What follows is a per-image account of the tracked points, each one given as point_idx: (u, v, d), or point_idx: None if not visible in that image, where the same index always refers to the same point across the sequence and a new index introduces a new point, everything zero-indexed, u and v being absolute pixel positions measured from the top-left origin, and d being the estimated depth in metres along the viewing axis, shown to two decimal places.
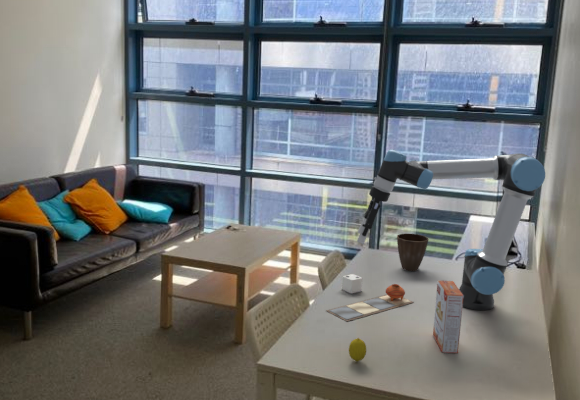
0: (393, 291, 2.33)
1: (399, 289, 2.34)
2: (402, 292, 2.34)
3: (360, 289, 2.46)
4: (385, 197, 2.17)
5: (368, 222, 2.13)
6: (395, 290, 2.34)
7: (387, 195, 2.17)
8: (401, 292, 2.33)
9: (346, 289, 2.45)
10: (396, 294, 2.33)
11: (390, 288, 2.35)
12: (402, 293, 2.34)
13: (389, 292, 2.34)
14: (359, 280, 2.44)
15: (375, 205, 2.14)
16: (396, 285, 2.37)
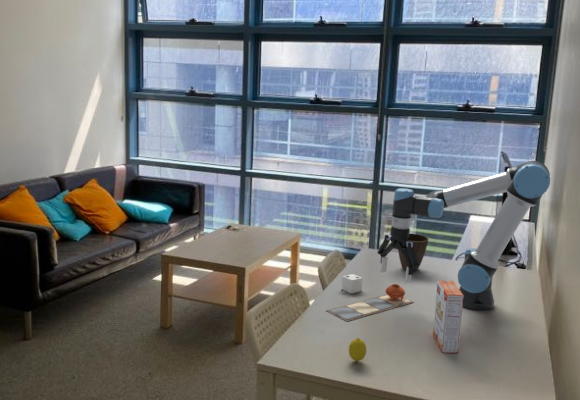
0: (393, 291, 2.33)
1: (399, 289, 2.34)
2: (402, 292, 2.34)
3: (360, 289, 2.46)
4: (409, 232, 2.30)
5: (414, 262, 2.26)
6: (395, 290, 2.34)
7: (409, 230, 2.31)
8: (401, 292, 2.33)
9: (346, 289, 2.45)
10: (396, 294, 2.33)
11: (390, 288, 2.35)
12: (402, 293, 2.34)
13: (389, 292, 2.34)
14: (359, 280, 2.44)
15: (411, 244, 2.27)
16: (396, 285, 2.37)
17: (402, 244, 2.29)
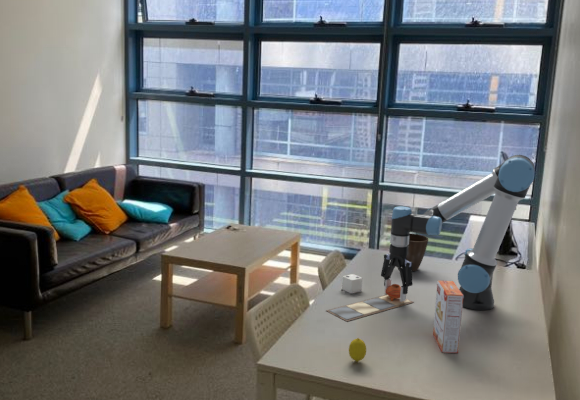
0: (393, 291, 2.34)
1: (399, 289, 2.34)
2: None
3: (360, 289, 2.46)
4: None
5: (409, 282, 2.29)
6: (395, 290, 2.34)
7: None
8: None
9: (346, 289, 2.45)
10: (396, 294, 2.33)
11: (390, 288, 2.35)
12: None
13: (389, 292, 2.34)
14: (359, 280, 2.44)
15: (409, 265, 2.28)
16: (396, 285, 2.37)
17: (401, 262, 2.31)
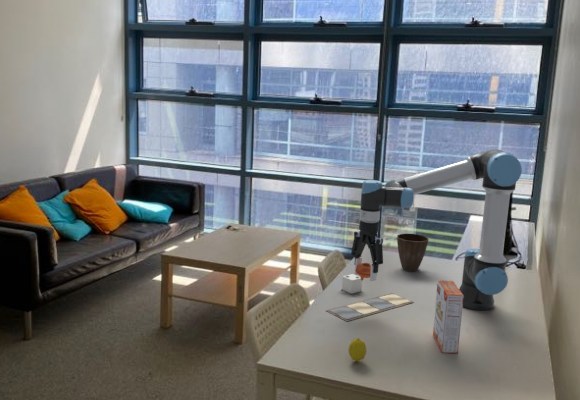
0: (363, 270, 2.21)
1: (369, 268, 2.21)
2: None
3: (360, 289, 2.46)
4: (378, 226, 2.19)
5: (379, 260, 2.16)
6: (365, 269, 2.21)
7: (378, 224, 2.19)
8: None
9: (346, 289, 2.45)
10: (366, 273, 2.20)
11: (360, 267, 2.22)
12: None
13: (359, 271, 2.21)
14: (359, 280, 2.44)
15: (380, 241, 2.15)
16: (367, 264, 2.24)
17: (371, 239, 2.18)
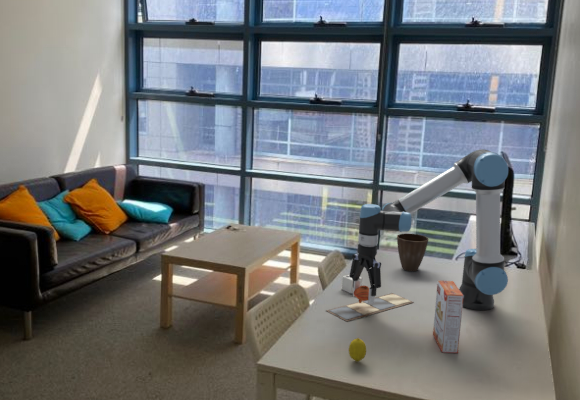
0: (361, 293, 2.22)
1: (367, 291, 2.23)
2: None
3: None
4: (376, 250, 2.21)
5: (377, 283, 2.18)
6: (363, 292, 2.22)
7: None
8: None
9: (346, 289, 2.45)
10: (364, 296, 2.22)
11: (358, 290, 2.24)
12: None
13: (357, 294, 2.23)
14: None
15: (378, 265, 2.17)
16: (365, 287, 2.26)
17: (369, 262, 2.20)
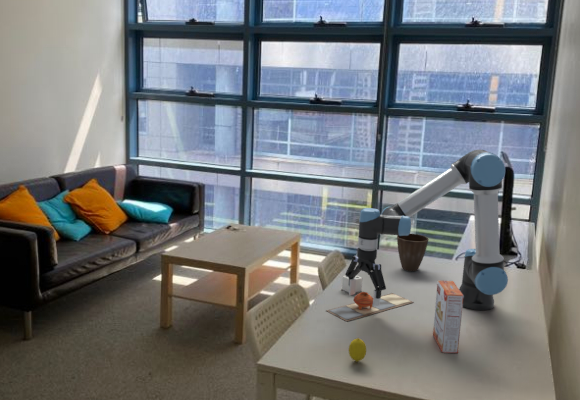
0: (361, 299, 2.23)
1: (367, 297, 2.23)
2: (370, 300, 2.23)
3: (360, 289, 2.46)
4: (376, 254, 2.21)
5: (382, 285, 2.16)
6: (363, 298, 2.23)
7: (376, 251, 2.21)
8: (369, 300, 2.23)
9: (346, 289, 2.45)
10: (364, 302, 2.22)
11: (358, 296, 2.24)
12: (370, 301, 2.23)
13: (357, 300, 2.23)
14: (359, 280, 2.44)
15: (378, 267, 2.17)
16: (365, 293, 2.27)
17: (369, 266, 2.20)
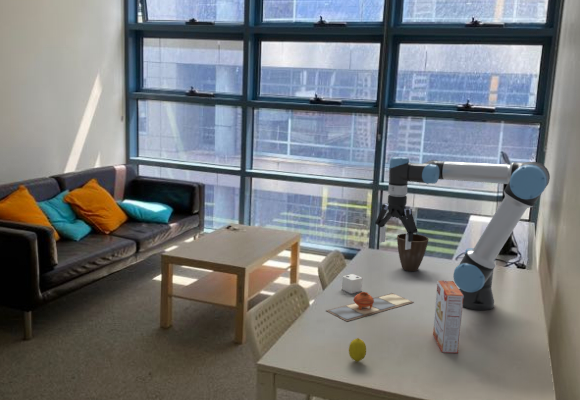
0: (361, 299, 2.23)
1: (367, 297, 2.23)
2: (370, 300, 2.23)
3: (360, 289, 2.46)
4: (406, 200, 2.32)
5: (413, 228, 2.27)
6: (363, 298, 2.23)
7: (406, 197, 2.32)
8: (369, 300, 2.23)
9: (346, 289, 2.45)
10: (364, 302, 2.22)
11: (358, 296, 2.24)
12: (370, 301, 2.23)
13: (357, 300, 2.23)
14: (359, 280, 2.44)
15: (409, 211, 2.28)
16: (365, 293, 2.27)
17: (400, 212, 2.31)
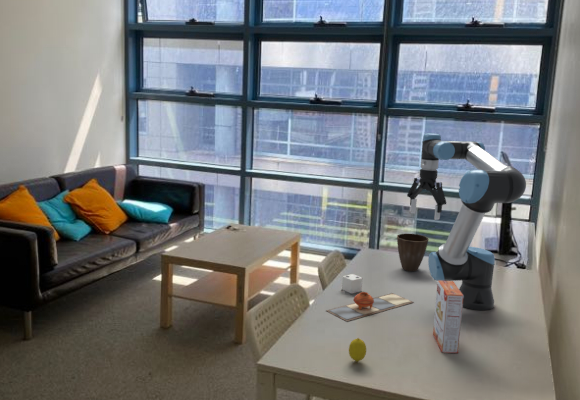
0: (361, 299, 2.23)
1: (367, 297, 2.23)
2: (370, 300, 2.23)
3: (360, 289, 2.46)
4: None
5: (443, 200, 2.45)
6: (363, 298, 2.23)
7: None
8: (369, 300, 2.23)
9: (346, 289, 2.45)
10: (364, 302, 2.22)
11: (358, 296, 2.24)
12: (370, 301, 2.23)
13: (357, 300, 2.23)
14: (359, 280, 2.44)
15: (439, 184, 2.46)
16: (365, 293, 2.27)
17: (431, 184, 2.49)
